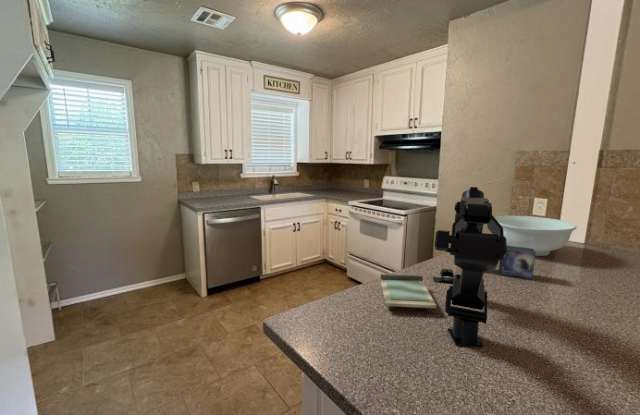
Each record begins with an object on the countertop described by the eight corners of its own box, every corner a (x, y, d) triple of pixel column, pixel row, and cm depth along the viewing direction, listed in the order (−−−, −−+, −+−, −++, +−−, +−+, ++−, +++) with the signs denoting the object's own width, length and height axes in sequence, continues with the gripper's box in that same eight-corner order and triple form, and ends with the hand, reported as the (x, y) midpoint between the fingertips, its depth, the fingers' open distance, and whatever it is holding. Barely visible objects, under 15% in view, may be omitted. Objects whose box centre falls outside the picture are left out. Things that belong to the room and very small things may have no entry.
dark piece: (429, 284, 107) (430, 272, 106) (427, 276, 114) (428, 265, 113) (467, 288, 104) (468, 275, 103) (463, 279, 110) (463, 268, 110)
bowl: (474, 245, 152) (477, 217, 149) (522, 239, 161) (525, 213, 159) (536, 266, 122) (540, 232, 119) (590, 258, 131) (595, 225, 129)
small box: (499, 275, 113) (501, 249, 111) (498, 269, 118) (500, 244, 117) (533, 280, 108) (536, 253, 106) (530, 274, 114) (533, 248, 112)
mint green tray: (435, 314, 85) (436, 300, 84) (386, 312, 86) (386, 298, 86) (421, 287, 103) (422, 275, 102) (380, 286, 104) (380, 274, 103)
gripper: (509, 208, 83) (500, 237, 94) (437, 204, 90) (438, 232, 102) (510, 243, 77) (501, 269, 88) (433, 235, 85) (434, 260, 96)
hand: (467, 256), depth 94 cm, fingers closed on canister, 6 cm apart
